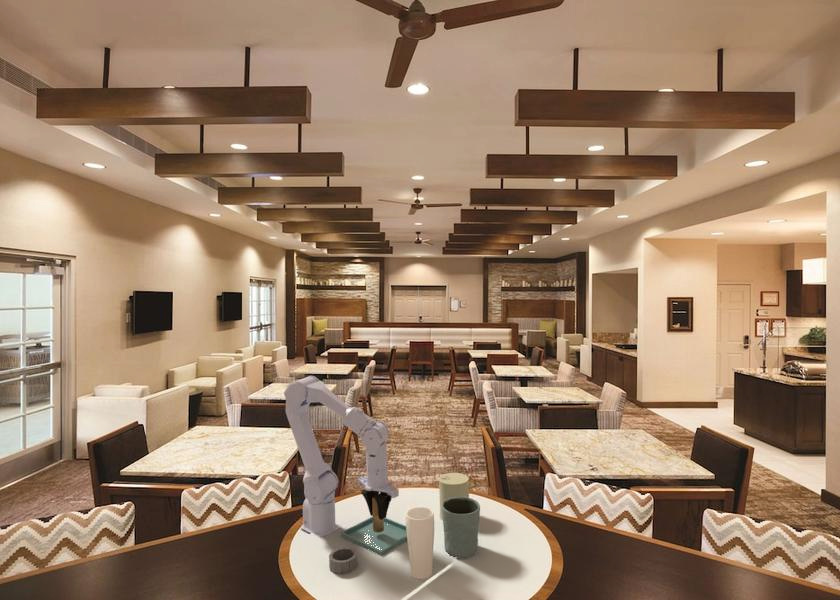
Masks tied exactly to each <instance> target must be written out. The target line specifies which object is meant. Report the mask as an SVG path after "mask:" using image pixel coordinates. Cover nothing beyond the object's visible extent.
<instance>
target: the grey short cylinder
mask: <svg viewBox="0 0 840 600" xmlns="http://www.w3.org/2000/svg"><path fill="white" fill-rule="evenodd" d="M358 558H359V557H358V551H357V550H356V549H354V548H353V547H349V546H347V547H346V546H345V547H344V546H342V547H338V548H336V549H334V550H332V551H331V552H330V553H329V555H328V563H329V564H328V565H329V566H328V567H329V570H330V572H332V573H333V574H337V575H345V574H349V573H351V572H354V571H355V570H356V569H357V567H358V566H359V565H358V563H359V561H358Z"/></svg>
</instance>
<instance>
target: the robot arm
mask: <svg viewBox="0 0 840 600" xmlns="http://www.w3.org/2000/svg"><path fill="white" fill-rule="evenodd" d="M283 395H284V398H285V414H286V418H287V420H288V421H287V422H288V423H289V426H290V429H291V432H292V435H293V437H294V440H295V442H296V447H297V449H298V451H299V454H300V457H301V461H302V463H303V465H304V466H303V467H304V469H305V473H304V474H303V479H302V482H303V486H304V488H303V492H304V493H303V494H304V497H305V499H304V501H303V504H302V526H301V527H300V530H303V531H304V532H306V533H309V534H313V535H314V536H316V537H319V538H322V537H325V536H327V535H328V534H330V533H332V532H334V531H336V530H338V529H340V528H343V527H342V525H340V524H338V523H337V522H336V504H335V503H336V497H335V494H336V492H335V491H336V489H337V488H338V487H339V479H338V476H337V474H336V473H335V472H334V471H333V470H332V467H331V465H330V464H328V463H327V462H326V461H324V458H323V456H322V452H321V450H320V447H319V444H318V442H317V439H316V436H315V432H314V430H313V428H312V424H311V421H310V418H309V415H308V413H307V410H308V409H309V407H310V404H311V403H320V404H322V405H323V406H324V407H326V408H328V409H329V410H330V411H332V412H334V413H335V414H336V415H338V416H340V417H341V419H342V423H343V425H345V427H347V428H349V429H350V430H351V431H352V432H353V433H355V434H356V435H357V436H358V437H360V438H361V442H362V443H363V445H364V448H365V457H366V458H365V459H366V461H365V463H366V464H365V465H366V477H365V476H363V475H362V476H359V477H358V478H357V486H359V487H360V486H363V487H364V489H362V490H361V495H362V496H363V498H364V500H365V502H366V504H367V508H368V512H369V515H370V517H372V516H373V509H372V497H374V498H375V500H376V502H377V506H378V515H379V519H380V520H382V519H384V518H387V516H388V514H387V513H388V509H389V506H390V503H391V501H392V499H395V498H397V497H399V492H400V491H399V488H397V487H395V486H394V485H392V484H391V483H390V482H389V481H388V452H387V451H388V450H387V440H388V438H389V436H390V430H389V428H388V426H387V425H386V424H385V423H384V421H377V420H376V419H375V418H372V417H370V416H369V415H367V414H366V413H364V409H363V408H361V407H357V406H353V407H350V406H349V405H348V404H346V403H345V402H344V401H343V400H342V399H340V398H339V397H338V396H337V395H336V394H335V393H334V392H332V391H331V390H330V389H329V388H328V387H327V386H326V384H325V383H324V382H323V381H322V380H320V379H319V378H317V377H316V376H314V375H308V376H306V377H304V378H301V379H297V380H294V381H292V382H290V383H289V384H287V386H286V388H285V391H284V392H283Z"/></svg>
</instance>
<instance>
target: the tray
mask: <svg viewBox="0 0 840 600" xmlns="http://www.w3.org/2000/svg"><path fill="white" fill-rule="evenodd" d="M387 524H388V525H387ZM368 530H369V531H368ZM365 533H366V534H365ZM367 534H368V536H369V535H370V538H371V539H370V538H369V537H368V539H367V540H369V539H370V542H371V543H369V541H368V542H366V543H365V541H367V540H365V539H366V538H367V537H366V538H364V537H365V536H366V535H367ZM364 535H365V536H364ZM372 536H373V537H372ZM340 537H342V538H344V539H346V540H347V541H349V542H351V543H353V544H356V545H358V546H360V547H362V548H364V549H366V548H367V549H366V550H368V549H369V550H368V551H370V550H371V551H370V552H372V551H373V552H372V553H374V552H375V553H374V554H376V553H377V554H376V555H378V554H379V555H378V556H380V555H381V556H383V555H385V554H386V553H388V552H390V551H391V550H393V549H395V548H396V547H398V546H399V545H401V544H403V543H404V542H408V541H407V532H406V524H405V525H404V524H402V523H399V522H398V521H394V520H393V519H390V518H388V517H386V518H384V531H382V532H379V533H377V532H374V531H373V516H370V517H369V518H366V519H365V520H363V521H361V522H359V523H357V524H355V525H353V526H351V527H349V528H347V529H345V530H343V531H341V532H340ZM364 540H365V541H364ZM371 540H372V541H371ZM373 542H374V543H373ZM367 543H369V544H367ZM375 544H376V545H375ZM371 545H372V546H371ZM373 545H374V546H373ZM376 546H378V547H377V548H379V547H380V550H379V549H377V548H375V547H376ZM381 549H382V550H381Z"/></svg>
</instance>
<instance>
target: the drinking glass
mask: <svg viewBox="0 0 840 600" xmlns="http://www.w3.org/2000/svg"><path fill="white" fill-rule="evenodd" d="M434 514H435V513H434V511H433V510H432V509H430V508H428V507H421V506H420V507H418V506H417V507H414V508H411V509H409V510H407V511H406V514H405V521H406V522H405V526H406V532H407V541H406V542H407V548H408V559H409V567H410V569H409V571H410V575H411V577H413V578H414V579H418V580H425V579H428V578H430V577H431V576H432V575H433V571H434V569H433V568H434V567H433V560H434V543H435V542H434V541H435V517H434V516H435V515H434Z"/></svg>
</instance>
